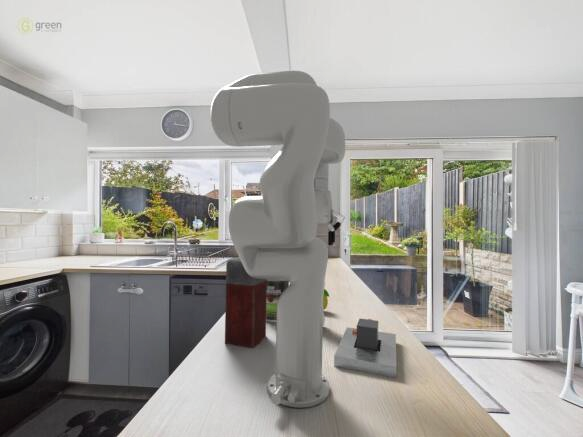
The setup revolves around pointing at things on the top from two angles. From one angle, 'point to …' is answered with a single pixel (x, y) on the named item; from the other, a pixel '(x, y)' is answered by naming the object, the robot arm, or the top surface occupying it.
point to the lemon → (325, 299)
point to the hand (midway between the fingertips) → (314, 244)
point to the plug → (367, 334)
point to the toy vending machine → (244, 306)
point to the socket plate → (367, 354)
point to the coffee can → (274, 297)
